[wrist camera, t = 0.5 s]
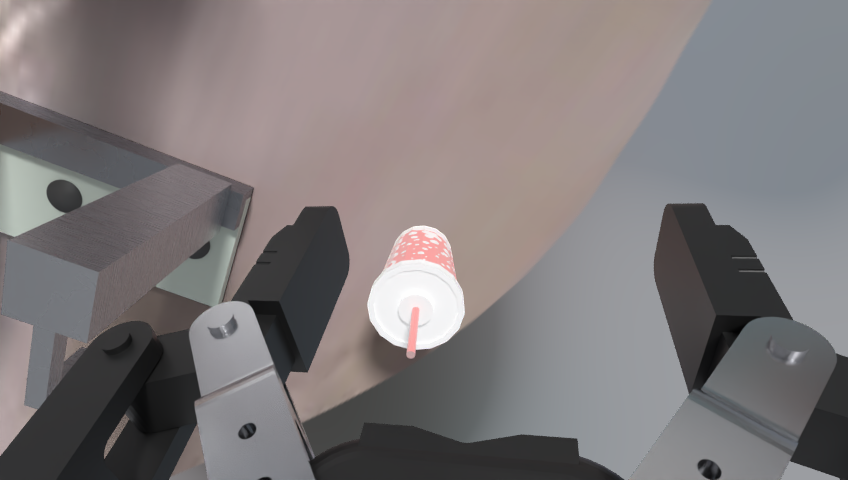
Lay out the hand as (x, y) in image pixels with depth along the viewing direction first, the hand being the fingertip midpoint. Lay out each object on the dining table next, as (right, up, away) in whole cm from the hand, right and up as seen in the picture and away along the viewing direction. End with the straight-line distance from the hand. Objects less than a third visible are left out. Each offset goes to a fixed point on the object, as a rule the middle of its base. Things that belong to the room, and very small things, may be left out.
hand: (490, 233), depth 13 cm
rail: (-28, +5, +26) cm, 39 cm away
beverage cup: (-2, -1, +27) cm, 27 cm away
